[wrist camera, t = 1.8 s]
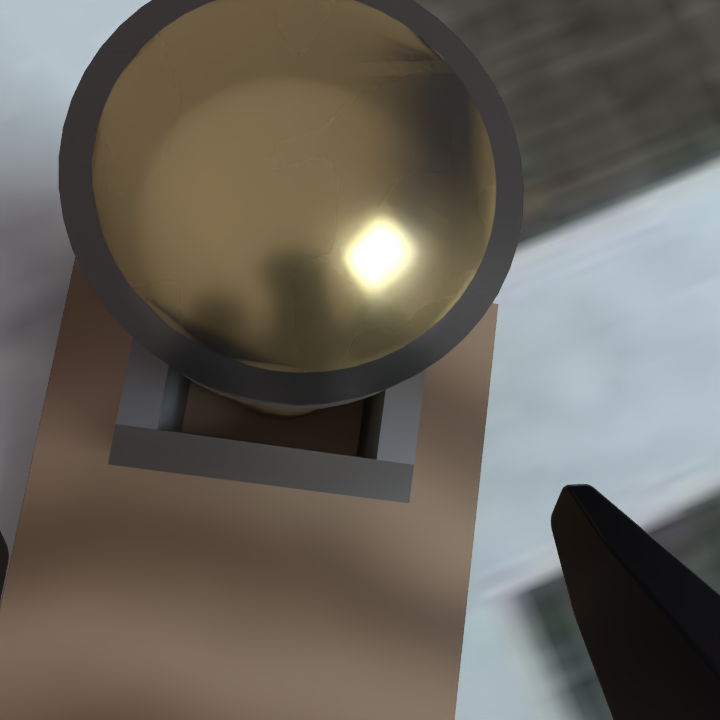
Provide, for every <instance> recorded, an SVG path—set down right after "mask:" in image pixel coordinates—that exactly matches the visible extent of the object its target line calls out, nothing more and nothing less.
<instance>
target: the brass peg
mask: <svg viewBox="0 0 720 720" xmlns="http://www.w3.org/2000/svg"><path fill="white" fill-rule="evenodd" d="M59 192H60V199H61V206H62V213H63V219H64V222H65V226H66V229H67V233H68V236H69V239H70V243H71V246H72V249H73V251H74V253H75V256H76V258H77V260H78V262H79V264H80V267H81V269H82V271H83V273H84V275H85V277H86V279H87V281H88V282H89V284H90V285H91V287H92V288H93V290H94V292H95V293H96V295H97V296H98V298H99V299H100V301H101V303H102V304H103V305H104V306H105V308H106V309H107V310H108V311H109V312H110V314H111V315H112V316H113V317H114V318H115V319H116V321H117V322H118V323H119V324H120V325H121V326H122V328H123V329H124V330H125V331H126V332H128V333H129V334H130V335H131V336H132V337H133V338H134V339H135V340H136V341H138V342H139V343H140V344H141V345H142V346H143V347H144V348H145V349H146V350H148V351H149V352H150V353H152V354H153V355H155V356H156V357H158V358H159V359H160V360H162V361H163V362H165V363H166V364H168V365H169V366H171V367H172V368H174V369H175V370H176V371H178V372H179V373H181V374H182V375H184V376H185V377H187V378H188V379H190V380H191V381H193V382H195V383H196V384H198V385H200V386H202V387H204V388H206V389H208V390H210V391H212V392H214V393H216V394H219V395H222V396H225V397H227V398H230V399H233V400H236V401H239V402H241V403H242V404H243V405H244V406H245V407H247V408H248V409H249V410H251V411H253V412H255V413H257V414H259V415H262V416H264V417H268V418H273V419H282V420H283V419H294V418H299V417H302V416H305V415H308V414H310V413H312V412H314V411H315V410H317V409H323V408H328V407H334V406H339V405H345V404H349V403H352V402H355V401H358V400H361V399H364V398H367V397H370V396H373V395H375V394H377V393H379V392H381V391H384V390H386V389H388V388H390V387H392V386H395V385H397V384H399V383H401V382H403V381H405V380H407V379H409V378H411V377H413V376H415V375H417V374H419V373H420V372H422V371H423V370H425V369H426V368H428V367H429V366H431V365H433V364H434V363H436V362H437V361H439V360H440V359H442V358H443V357H444V356H445V355H446V354H447V353H449V352H450V351H451V350H452V349H453V348H454V347H455V346H457V345H458V344H459V343H460V342H461V341H462V340H463V339H464V338H465V337H466V336H467V335H468V334H469V333H470V331H471V330H472V329H473V328H474V327H475V326H476V325H477V323H478V322H479V321H480V320H481V319H482V318H483V316H484V315H485V313H486V312H487V310H488V308H489V307H490V305H491V304H492V302H493V301H494V299H495V298H496V296H497V295H498V293H499V291H500V289H501V286H502V284H503V282H504V280H505V278H506V276H507V274H508V272H509V269H510V267H511V263H512V260H513V257H514V254H515V251H516V247H517V244H518V240H519V234H520V229H521V223H522V217H523V196H524V184H523V174H522V163H521V157H520V153H519V148H518V144H517V139H516V135H515V132H514V129H513V126H512V123H511V121H510V118H509V115H508V112H507V109H506V107H505V105H504V103H503V101H502V99H501V97H500V95H499V93H498V91H497V89H496V87H495V85H494V83H493V82H492V80H491V79H490V77H489V76H488V74H487V73H486V71H485V70H484V68H483V67H482V65H481V64H480V62H479V61H478V59H477V58H476V57H475V56H474V55H473V53H472V52H471V51H470V50H469V49H468V48H467V46H466V45H465V44H464V43H463V42H462V41H461V39H460V38H459V37H458V36H457V35H455V34H454V33H453V32H452V31H451V30H450V29H449V28H448V27H447V26H446V25H445V24H444V23H442V22H441V21H440V20H439V19H438V18H437V17H435V16H434V15H433V14H431V13H430V12H428V11H427V10H426V9H424V8H423V7H422V6H420V5H419V4H417V3H416V2H415V1H413V0H152V1H150V2H148V3H147V4H145V5H144V6H142V7H141V8H140V9H139V10H138V11H136V12H135V13H134V14H133V15H132V16H131V17H129V18H128V19H127V20H126V21H125V22H124V23H122V24H121V25H120V26H119V27H118V28H117V30H116V31H115V32H114V33H113V34H112V35H111V36H110V37H109V39H108V40H107V41H106V42H105V43H104V44H103V45H102V46H101V48H100V49H99V51H98V52H97V54H96V55H95V57H94V58H93V60H92V61H91V63H90V64H89V66H88V67H87V69H86V70H85V72H84V74H83V76H82V78H81V80H80V83H79V85H78V87H77V89H76V91H75V93H74V95H73V97H72V100H71V103H70V107H69V110H68V113H67V117H66V120H65V123H64V127H63V133H62V139H61V146H60V153H59Z"/></svg>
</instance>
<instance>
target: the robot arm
mask: <svg viewBox="0 0 720 720" xmlns="http://www.w3.org/2000/svg"><path fill="white" fill-rule="evenodd" d="M551 528H552V532H553V536H554V540H555V544H556V547H557V551H558V555H559V559H560V563H561V567H562V571H563V575H564V578H565V582H566V586H567V590H568V594H569V598H570V601H571V605H572V608H573V612H574V615H575V618H576V621H577V624H578V627H579V629H580V632H581V635H582V637H583V640H584V643H585V645H586V648H587V651H588V653H589V656H590V659H591V661H592V664H593V667H594V669H595V672H596V675H597V677H598V680H599V683H600V685H601V688H602V691H603V693H604V696H605V699H606V701H607V704H608V707H609V709H610V712H611V715H612V717H613V720H720V594H718V593H717V592H716V591H715V590H714V589H713V588H711V587H710V586H709V585H708V584H707V583H706V582H704V581H703V580H702V579H701V578H700V577H698V576H697V575H696V574H695V573H694V572H693V571H691V570H690V569H689V568H688V567H687V566H686V565H684V564H683V563H682V562H681V561H680V560H678V559H677V558H676V557H675V556H674V555H673V554H671V553H670V552H669V551H668V550H667V549H666V548H664V547H663V546H662V545H661V544H660V543H658V542H657V541H656V540H655V539H654V538H653V537H651V536H650V535H649V534H648V533H647V532H645V531H644V530H643V529H642V528H641V527H640V526H638V525H637V524H636V523H635V522H634V521H633V520H631V519H630V518H629V517H628V516H627V515H625V514H624V513H623V512H622V511H621V510H620V509H618V508H617V507H616V506H615V505H614V504H613V503H611V502H610V501H609V500H608V499H607V498H605V497H604V496H603V495H602V494H601V493H600V492H598V491H597V490H596V489H595V488H594V487H592V486H590V485H588V484H573V485H566V486H565V487H564V488H563V489H562V491H561V493H560V496H559V498H558V501H557V503H556V505H555V508H554V510H553V513H552V516H551ZM8 559H9V552H8V547H7V544H6V542H5V540H4V538H3V536H2V534H1V532H0V599H1V594H2V589H3V585H4V580H5V575H6V570H7V565H8Z"/></svg>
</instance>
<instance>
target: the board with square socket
mask: <svg viewBox="0 0 720 720" xmlns="http://www.w3.org/2000/svg"><path fill="white" fill-rule="evenodd" d="M497 311H498V304H494V303H492V304H491V305H490V307H489V308H488V310H487V312H486V313H485V315H484V316H483V318H482V319H481V320H480V321H479V322H478V323H477V325H476V326H475V327H474V328H473V329H472V330H471V331H470V333H469V334H468V335H467V336H466V337H465V338H464V339H463V340H462V341H461V342H460V343H459V344H458V345H457V346H455V347H454V348H453V349H452V350H451V351H450V352H449V353H447V354H446V355H445V356H444V357H443V358H442V359H440V360H439V361H437V362H436V363H434V364H433V365H431V366H429V367H428V368H426V369H425V370H423V371H422V372H420V373H419V374H417V375H415V376H413V377H411V378H409V379H407V380H405V381H403V382H401V383H399V384H397V385H395V386H392V387H390V388H388V389H386V390H384V391H381V392H379V393H377V394H375V395H373V396H370V397H367V398H364V399H361V400H358V401H355V402H352V403H349V404H345V405H339V406H334V407H328V408H323V409H317V410H315V411H314V412H312V413H310V414H308V415H305V416H302V417H299V418H294V419H283V420H282V419H273V418H268V417H264V416H262V415H259V414H257V413H255V412H253V411H251V410H249V409H248V408H247V407H245V406H244V405H243V404H242V403H241V402H239V401H236V400H233V399H230V398H227V397H225V396H222V395H219V394H216V393H214V392H212V391H210V390H208V389H206V388H204V387H202V386H200V385H198V384H196V383H195V382H193V381H191V380H190V379H188V378H187V377H185V376H184V375H182V374H181V373H179V372H178V371H176V370H175V369H174V368H172V367H171V366H169V365H168V364H166V363H165V362H163V361H162V360H160V359H159V358H158V357H156V356H155V355H153V354H152V353H150V352H149V351H148V350H146V349H145V348H144V347H143V346H142V345H141V344H140V343H139V342H138V341H136V340H135V339H134V338H133V337H132V336H131V335H130V334H129V333H128V332H126V331H125V330H124V329H123V328H122V326H121V325H120V324H119V323H118V322H117V321H116V319H115V318H114V317H113V316H112V315H111V314H110V312H109V311H108V310H107V309H106V308H105V306H104V305H103V304H102V303H101V301H100V299H99V298H98V296H97V295H96V293H95V292H94V290H93V288H92V287H91V285H90V284H89V282H88V281H87V279H86V277H85V275H84V273H83V271H82V269H81V267H80V264H79V262H78V260H77V258H76V257H75V262H74V266H73V271H72V276H71V280H70V285H69V290H68V294H67V299H66V304H65V309H64V313H63V318H62V323H61V327H60V332H59V337H58V341H57V346H56V351H55V355H54V360H53V365H52V369H51V374H50V379H49V383H48V388H47V393H46V397H45V402H44V407H43V411H42V416H41V421H40V425H39V430H38V435H37V439H36V444H35V449H34V453H33V458H32V463H31V467H30V472H29V477H28V481H27V486H26V491H25V495H24V500H23V505H22V509H21V514H20V519H19V523H18V528H17V533H16V537H15V542H14V547H13V551H12V556H11V561H10V565H9V570H8V575H7V579H6V584H5V589H4V593H3V598H2V603H1V607H0V720H454V719H455V710H456V700H457V691H458V681H459V672H460V662H461V653H462V643H463V634H464V624H465V615H466V605H467V596H468V586H469V577H470V567H471V558H472V548H473V539H474V529H475V520H476V510H477V501H478V491H479V482H480V472H481V463H482V453H483V444H484V434H485V425H486V415H487V406H488V396H489V387H490V377H491V368H492V359H493V349H494V340H495V330H496V321H497Z"/></svg>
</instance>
